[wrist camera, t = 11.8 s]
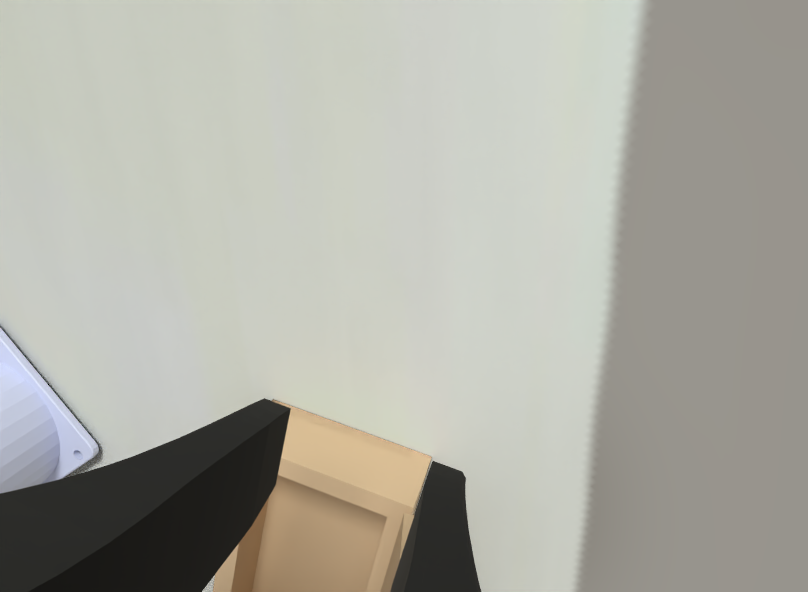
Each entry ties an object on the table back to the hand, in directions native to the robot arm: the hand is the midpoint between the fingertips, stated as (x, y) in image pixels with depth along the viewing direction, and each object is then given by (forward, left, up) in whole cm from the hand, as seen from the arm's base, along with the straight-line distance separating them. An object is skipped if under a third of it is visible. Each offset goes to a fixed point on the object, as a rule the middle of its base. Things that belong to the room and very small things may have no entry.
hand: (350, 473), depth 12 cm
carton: (-11, -6, -10) cm, 16 cm away
